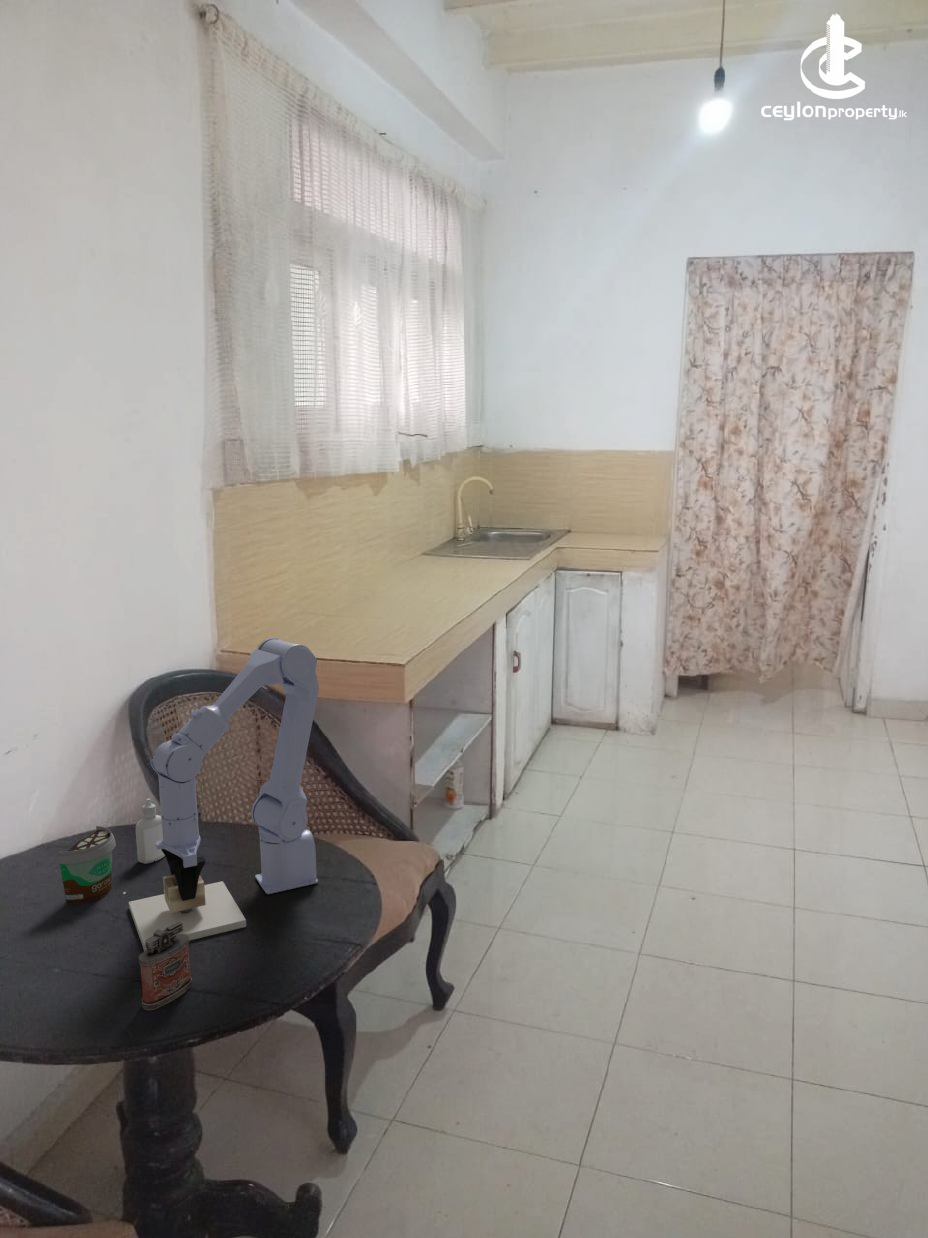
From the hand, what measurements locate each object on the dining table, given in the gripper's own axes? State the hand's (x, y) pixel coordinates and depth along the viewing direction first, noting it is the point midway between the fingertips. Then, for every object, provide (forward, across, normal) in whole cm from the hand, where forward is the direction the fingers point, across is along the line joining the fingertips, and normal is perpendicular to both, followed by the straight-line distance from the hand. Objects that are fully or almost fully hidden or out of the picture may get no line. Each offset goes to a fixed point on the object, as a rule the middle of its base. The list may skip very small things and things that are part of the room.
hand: (184, 891), depth 154 cm
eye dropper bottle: (+5, -27, -1) cm, 27 cm away
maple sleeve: (+2, 0, 0) cm, 2 cm away
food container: (+5, -17, -12) cm, 21 cm away
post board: (+5, 0, 0) cm, 5 cm away
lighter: (+5, +22, -7) cm, 24 cm away
